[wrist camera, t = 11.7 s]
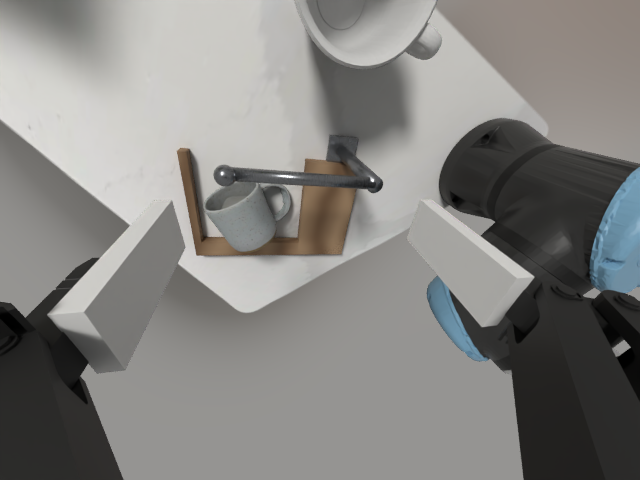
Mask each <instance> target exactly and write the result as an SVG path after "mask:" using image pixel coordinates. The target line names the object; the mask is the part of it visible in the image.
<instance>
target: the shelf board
mask: <svg viewBox="0 0 640 480" xmlns="http://www.w3.org/2000/svg"><path fill="white" fill-rule="evenodd" d="M177 154H178V159H179V165H180V170H181V175H182V181H183V186H184V191H185V196H186V202H187V207H188V212H189V218H190V223H191V228H192V234H193V239H194V244H195V249H196V255H299V254H341V253H342V248H343V244H344V240H345V235H346V231H347V227H348V223H349V218H350V214H351V210H352V205H353V201H354V197H355V192H356V189H353V188H336V187H319V186H303V189H302V199H301V209H300V219H299V229H298V238H273V239H272V241H271V242H270V243H269V244H267V245H266V246H265V247H263V248H262V249H260V250H257V251H254V252H250V253H242V252H239V251H237V250H235V249H234V248H233V247H232V246H231V245H230V244H229V243H228V241H227V240H226V239H225V237H203V232H202V226H201V219H200V213H199V207H198V201H197V194H196V188H195V182H194V176H193V170H192V163H191V157H190V151H189V149H187V148H180V149H179V150H178V151H177ZM304 172H305V173H319V174H332V175H346V176H355V175H354V174H353V173H352V171H351V170H350V169H349V168H348V167H347V166H346V165H345V164H344V163H336V162H327V161H326V160H315V159H305V169H304Z"/></svg>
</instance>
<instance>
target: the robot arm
mask: <svg viewBox="0 0 640 480" xmlns="http://www.w3.org/2000/svg"><path fill="white" fill-rule="evenodd" d="M439 185H440V192H441V195H442V197H443V199H444V200H445V202H446V203H447V204H449V205H450V206H452V207H453V208H454V209H456V210H458V211H460V212H463V213H467V214H471V215H475V216H480V217H484V218H489V219H492V220H493V221H495V223H494V224H493V225H492V226H491V227H490V228H489V229H488V230H486V231H485V232H484V233H483V234H482V235H481V236H479V235H478V234H477V233H476V232H474V231H473V230H471V229H470V228H469V227H468V226H466V225H465V224H463V223H462V222H461V221H460V220H458V219H457V218H456V217H454V216H453V215H452V214H450V213H449V212H448V211H446V210H445V209H444V208H442V207H441V206H440V205H438V204H437V203H436V202H434V201H433V200H420V202H419V205H418V208H417V211H416V214H415V216H414V219H413V222H412V225H411V228H410V231H409V234H408V237H407V240H408V241H409V242H410V243H411V245H413V247H414V248H415V249H416V251H417V252H418V253H419V254H420V255H421V256H422V258H423V259H424V260H425V261H426V262H427V263H428V265H429V266H430V267H431V268H432V269H433V270H434V271H435V273H436V274H437V277H436V278H435V279H434V280H433V281H432V282H431V283H430V284H429V286H428V288H427V299H428V302H429V304H430V308H431V310H432V312H433V314H434V315H435V318H436V319H437V321H438V322H439V324H440V325H441V327H442V328H443V330H444V331H445V332H446V334H447V335H448V336H449V338H450V339H451V340H452V341H453V342H454V344H455V345H456V346H457V347H458V348H459V349H460V350H461V351H464V352H465V353H466V354H467V356H468V357H470V358H471V359H473V360H475V361H487V360H489V358H490V359H491V360H492V361H493V362H494V363H495V364H496V365H497V366H498V367H499V368H500V369H501V370H502V371H503V372H504V373H507V374H511V375H512V379H513V388H514V398H515V407H516V416H517V424H518V432H519V442H520V451H521V459H522V469H523V478H524V480H640V301H638V300H637V299H636V298H634V297H632V296H630V295H629V296H628V294H625V293H627V292H630V291H632V290H633V289H635V288H636V287H640V164H638V163H633V162H629V161H625V160H621V159H616V158H612V157H608V156H603V155H599V154H595V153H590V152H586V151H582V150H577V149H573V148H569V147H564V146H560V145H556V144H553V143H552V142H550V141H549V140H548V139H547V138H545V137H544V136H543V135H541V134H540V133H539V132H538V131H536V130H535V129H534V128H532V127H531V126H530V125H528V124H526V123H524V122H522V121H518V120H512V119H507V118H499V119H493V120H490V121H487V122H485V123H483V124H481V125H479V126H477V127H476V128H474V129H473V130H471V131H470V132H469V133H467V134H466V135H465V136H464V137H463V138H462V139H461V140H460V141H459V142H458V143H457V144H456V146H455V147H454V148H453V149H452V151H451V152H450V154H449V156H448V157H447V159H446V161H445V163H444V166H443V168H442V171H441V175H440V184H439ZM184 249H185V244H184V240H183V237H182V233H181V230H180V226H179V223H178V220H177V216H176V213H175V209H174V206H173V202H172V200H154V201H153V202H152V203H151V204H150V205H149V206H148V207H147V208H146V209H145V211H144V212H143V213H142V214H141V215H140V216H139V217H138V218H137V219H136V220H135V221H134V222H133V223H132V224H131V226H130V227H129V228H128V229H127V230H126V231H125V232H124V233H123V234H122V235H121V236H120V237H119V238H118V239H117V241H116V242H115V243H114V244H113V245H112V246H111V247H110V248H109V249H108V250H107V251H106V252H105V254H104V255H103V256H102V257H101V258H92V259H90V260H88V261H86V262H85V263H83V264H81V265H80V266H78V267H77V268H75V269H74V270H73V271H72V272H71V273H70V274H69V275H68V276H67V277H66V280H65V281H62V282H61V283H60V284H59V285H58V286H57V287H56V290H53V291H52V292H51V293H50V294H49V295H48V296H47V297H46V298H45V299H44V300H43V301H42V302H41V303H40V304H39V305H38V306H37V307H36V308H35V309H34V310H33V311H32V312H31V313H30V314H29V315H28V316H27V317H26V318H25V317H24V316H23V315H22V314H21V313H20V312H19V311H18V310H17V309H16V308H15V307H14V306H13V305H12V304H11V303H5V302H0V480H123V477H122V475H121V472H120V470H119V467H118V465H117V462H116V460H115V457H114V454H113V452H112V449H111V447H110V444H109V442H108V439H107V437H106V434H105V431H104V429H103V427H102V424H101V421H100V419H99V416H98V414H97V411H96V409H95V406H94V404H93V401H92V398H91V396H90V393H89V391H88V388H87V386H86V383H85V381H84V380H83V379H82V378H81V377H80V375H81V374H82V372H83V371H84V369H85V367H86V366H87V364H89V365H90V366H91V367H92V368H93V369H94V371H95V372H96V373H105V372H114V371H122V370H126V368H127V366H128V363H129V361H130V359H131V357H132V355H133V353H134V351H135V349H136V347H137V345H138V343H139V341H140V339H141V337H142V335H143V333H144V331H145V329H146V327H147V325H148V323H149V321H150V319H151V317H152V314H153V312H154V311H155V308H156V306H157V304H158V302H159V300H160V298H161V296H162V294H163V292H164V290H165V288H166V286H167V284H168V282H169V280H170V278H171V276H172V274H173V271H174V270H175V268H176V266H177V264H178V262H179V260H180V258H181V255H182V253H183V251H184ZM593 288H596V289H598V290H599V291H601V293H600V294H599V295H598V296H597V297H596V298H595V299H592V298H586V297H584V296H583V295H584V294H585V293H587V292H588V291H590V290H591V289H593ZM623 340H625V341H626V342H627V343H628V344H629V345H630V347H631V348H630V349H628V350H627V351H625V352H624V353H623V354H620V353H619V352H618V351H617V350H615V349H614V347H615V346H616V345H617V344H619V343H620V342H621V341H623Z"/></svg>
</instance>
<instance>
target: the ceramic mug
mask: <svg viewBox="0 0 640 480" xmlns="http://www.w3.org/2000/svg"><path fill="white" fill-rule="evenodd" d="M272 186H276V187H279V188H280V189H281V192H282V195H283V202H284V205H283V207H282V209H281V210H280V211H279V213H277V214H276V215H274V216H273V215H272V213H271V211H270V209H269V206H268V204H267V201H266V199H265V197H264V194H263V192H262V190H263V189H264V188H266V187H272ZM290 204H291V199H290V195H289V192H288V190H287V189H286V187H284V186H283V185H281V184H268V183H260V184H259V183H251V182H235V183H234V184H233V185H231V186H228V187H224V186H223V187H221V188H220V189H218V190H216V191H215V192H214V193H212V194H211V195H210V196H209V197H208V198H207V200H206V201H205V203H204V205H203V209H204V211H205V213H206V214H207V215H208V217H209V218H210V219H211V220H212V222H213V223H214V224H215V226H216V227H217V228H218V230H219V231H220V232H221V233H222V235H223V236H224V237H225V239H226V240H227V241H228V243H229V244H230V245H231V246H232V247H233V248H234V249H235V250H237V251H239V252H242V253H250V252H254V251H257V250H260V249H262V248H263V247H265V246H266V245H267V244H269V243H270V242H271V241H272V239H273V238H274V236H275V234H276V224H275V223H276V221H279V220H280V219H282V218H283V217H284V216H285V215H286V214H287V212H288V210H289V208H290Z"/></svg>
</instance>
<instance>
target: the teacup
mask: <svg viewBox="0 0 640 480" xmlns="http://www.w3.org/2000/svg"><path fill="white" fill-rule="evenodd" d="M294 1H295V5H296V8H297V10H298V13H299V16H300V18H301V20H302V22H303V25H304V27H305V29H306V30H307V32H308V34H309V35H310V37H311V39H312V40H313V41H314V43H315V44H316V45H317V47H318V48H319V49H320V50H321V51H322V52H323V53H324V54H325V55H326V56H328V57H329V58H330V59H332V60H333V61H335V62H337V63H339V64H341V65H343V66H346V67H349V68H354V69H371V68H377V67H380V66H383V65H385V64H387V63H389V62H391V61H393V60H395V59H396V58H397V57H399V56H400V55H401V54H403V53H404V52H406V53H408V54H410V55H412V56H413V57H415V58H418V59H421V60H427V59H430V58H432V57H433V56H434V55H435V54H436V53H437V51H438V50H439V48H440V46H441V43H442V38H441V35H440V33H439V32H438V30H437V29H436V28H435V27H434V26H432V25H431V24H429V23H427V22H428V20H429V19H430V17H431V15H432V12H433V10H434V8H435V6H436V4H437V1H438V0H294Z"/></svg>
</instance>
